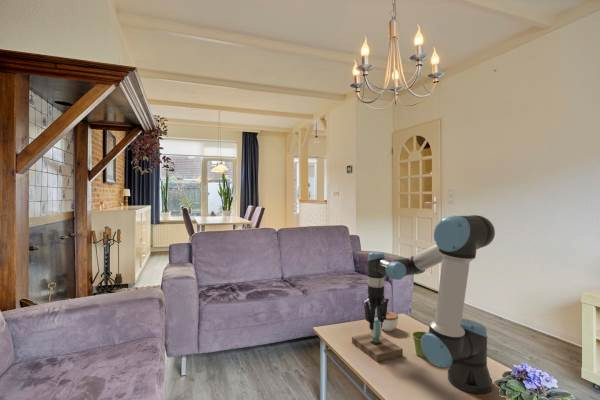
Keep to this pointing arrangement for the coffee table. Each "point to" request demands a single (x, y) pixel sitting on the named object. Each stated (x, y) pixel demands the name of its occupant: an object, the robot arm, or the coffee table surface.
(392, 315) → the lidded jar
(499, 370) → the coffee table surface
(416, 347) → the plant pot
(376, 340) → the peg
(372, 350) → the hole block
